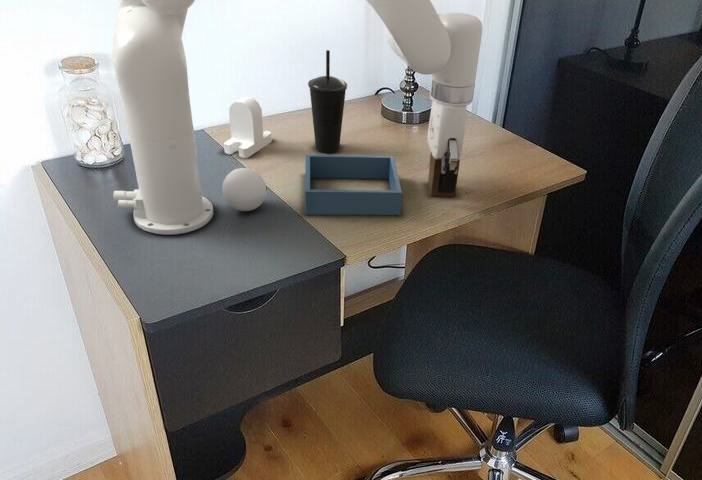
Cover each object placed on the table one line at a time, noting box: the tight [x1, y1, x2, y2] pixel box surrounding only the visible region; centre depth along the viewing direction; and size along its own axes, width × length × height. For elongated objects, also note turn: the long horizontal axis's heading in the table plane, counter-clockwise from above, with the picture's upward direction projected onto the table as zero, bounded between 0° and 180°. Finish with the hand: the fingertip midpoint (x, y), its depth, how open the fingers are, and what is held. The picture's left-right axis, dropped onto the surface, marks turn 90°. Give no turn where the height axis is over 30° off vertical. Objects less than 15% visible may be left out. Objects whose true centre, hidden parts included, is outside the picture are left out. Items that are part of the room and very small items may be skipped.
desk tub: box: [304, 154, 403, 216], centre depth 119 cm, size 17×15×4 cm
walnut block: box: [427, 152, 461, 197], centre depth 122 cm, size 5×5×8 cm
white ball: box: [221, 167, 268, 212], centre depth 112 cm, size 10×7×7 cm
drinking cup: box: [307, 49, 348, 154], centre depth 130 cm, size 8×8×20 cm
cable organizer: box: [223, 96, 272, 159], centre depth 130 cm, size 5×10×10 cm, turn 159°
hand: (441, 179), depth 123 cm, fingers open, 9 cm apart
